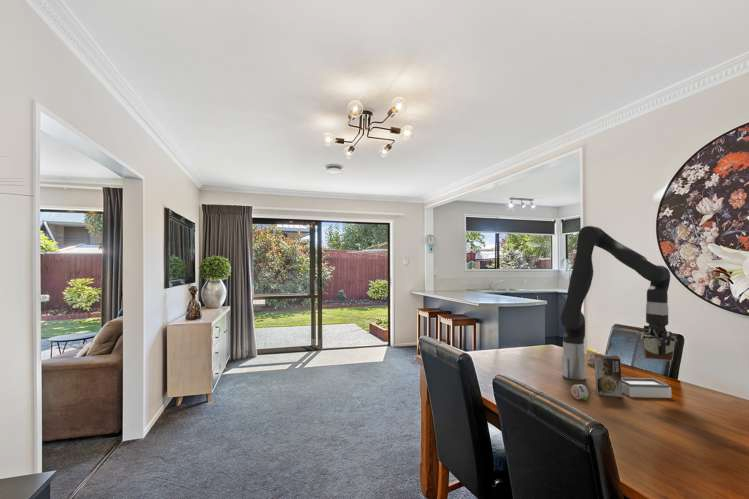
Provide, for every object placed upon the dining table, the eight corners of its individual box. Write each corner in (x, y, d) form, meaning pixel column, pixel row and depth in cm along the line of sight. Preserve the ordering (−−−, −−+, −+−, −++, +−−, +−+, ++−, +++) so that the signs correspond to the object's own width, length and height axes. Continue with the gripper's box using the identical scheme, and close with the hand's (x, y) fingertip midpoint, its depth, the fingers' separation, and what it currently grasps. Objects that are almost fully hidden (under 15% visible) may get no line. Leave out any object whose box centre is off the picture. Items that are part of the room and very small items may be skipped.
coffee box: (619, 392, 159) (618, 355, 159) (622, 397, 153) (621, 358, 154) (595, 390, 162) (594, 353, 163) (597, 394, 157) (595, 356, 157)
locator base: (630, 396, 154) (629, 384, 154) (615, 388, 164) (615, 377, 165) (671, 397, 152) (671, 385, 152) (654, 389, 163) (653, 377, 163)
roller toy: (580, 402, 149) (579, 387, 149) (569, 396, 155) (568, 382, 155) (589, 401, 149) (589, 386, 150) (578, 395, 156) (578, 382, 156)
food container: (670, 357, 155) (670, 333, 156) (676, 361, 150) (677, 337, 150) (636, 354, 160) (636, 331, 160) (641, 358, 154) (641, 334, 154)
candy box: (586, 363, 206) (586, 349, 206) (590, 363, 206) (589, 348, 206) (608, 372, 190) (607, 356, 190) (612, 372, 190) (611, 355, 190)
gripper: (636, 310, 162) (636, 348, 161) (659, 315, 147) (659, 357, 147) (655, 310, 161) (655, 349, 161) (679, 315, 147) (679, 358, 146)
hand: (656, 352), depth 154 cm, fingers closed on food container, 5 cm apart
